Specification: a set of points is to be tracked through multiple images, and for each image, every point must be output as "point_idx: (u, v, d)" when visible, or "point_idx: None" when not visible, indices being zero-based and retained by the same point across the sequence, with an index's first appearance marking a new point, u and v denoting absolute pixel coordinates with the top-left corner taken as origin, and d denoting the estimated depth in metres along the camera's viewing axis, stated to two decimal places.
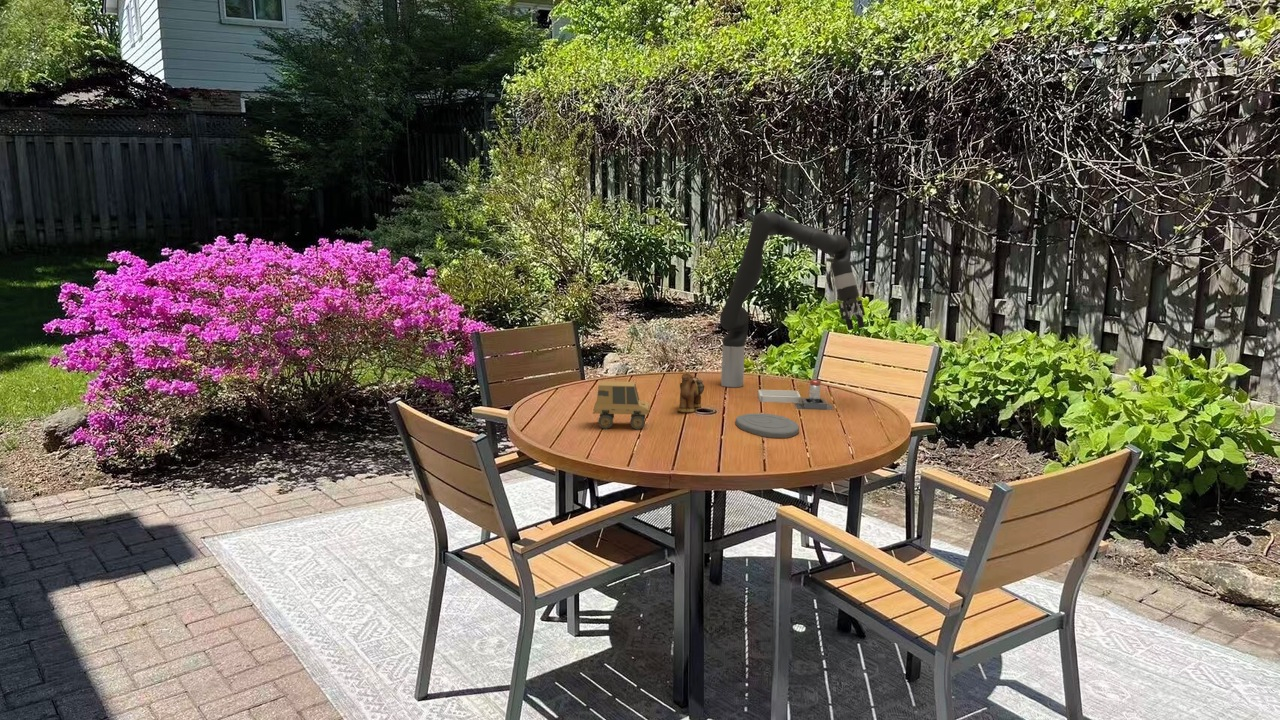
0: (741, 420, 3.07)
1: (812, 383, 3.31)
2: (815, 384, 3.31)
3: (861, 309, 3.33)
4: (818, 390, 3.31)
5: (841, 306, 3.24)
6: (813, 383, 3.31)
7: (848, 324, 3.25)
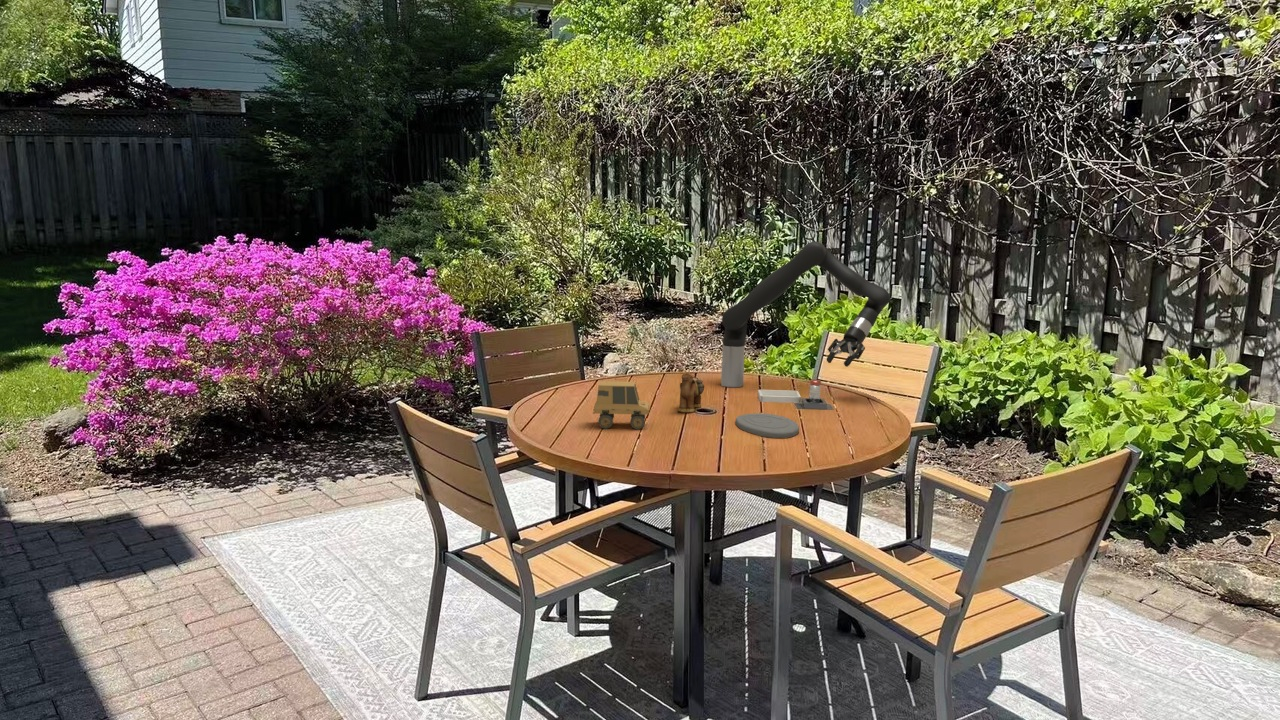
0: (741, 420, 3.07)
1: (812, 383, 3.31)
2: (815, 384, 3.31)
3: None
4: (818, 390, 3.31)
5: (862, 348, 3.35)
6: (813, 383, 3.31)
7: (850, 361, 3.35)
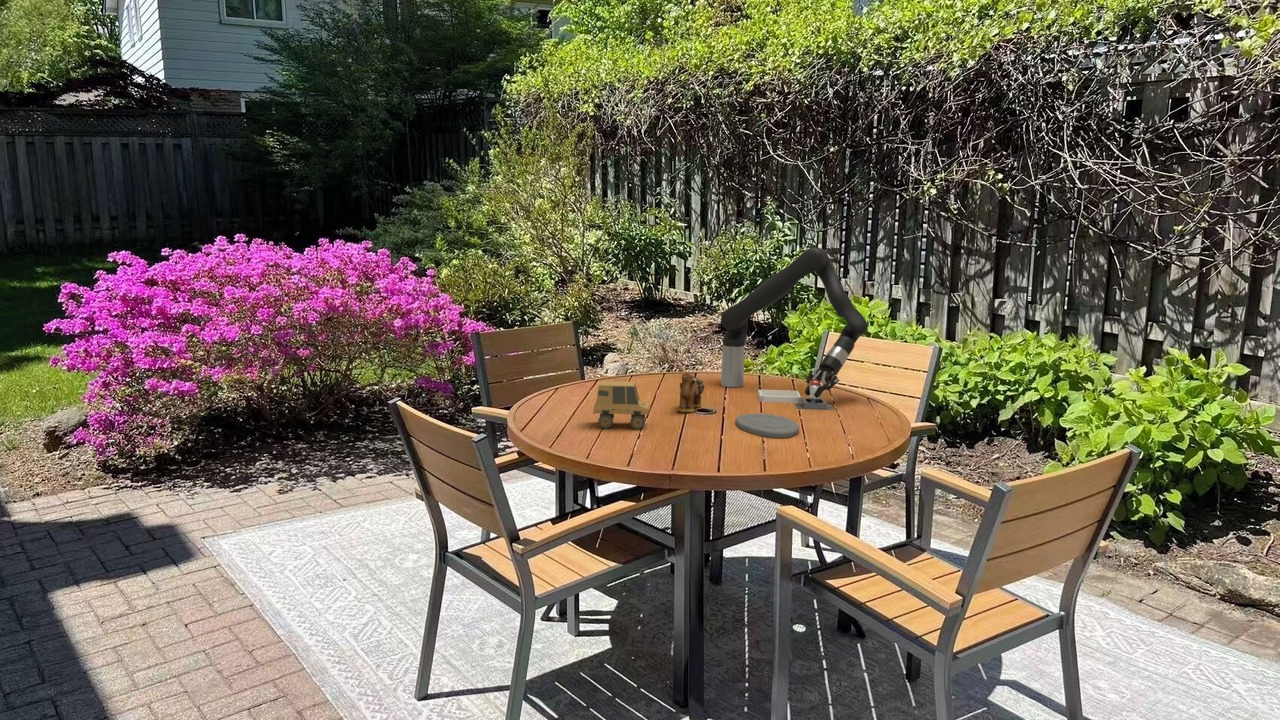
0: (741, 420, 3.07)
1: (812, 383, 3.31)
2: (815, 384, 3.31)
3: None
4: None
5: (835, 381, 3.30)
6: (813, 383, 3.31)
7: (820, 392, 3.30)
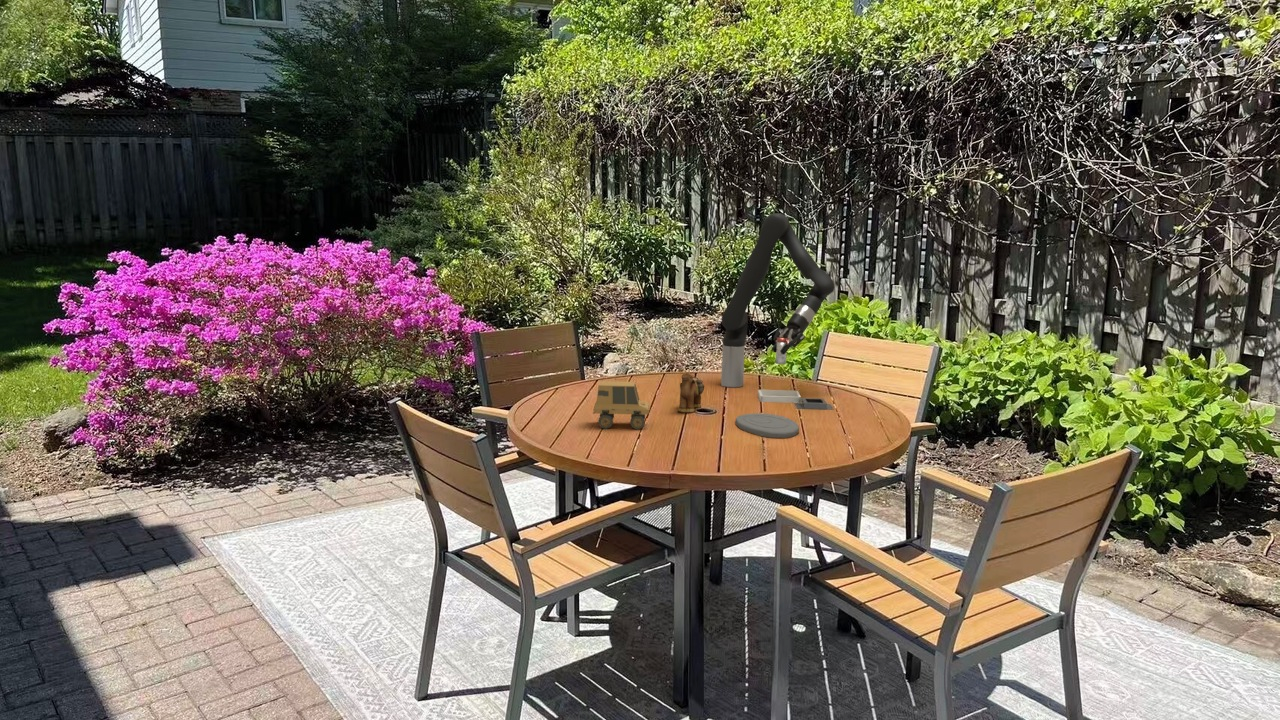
0: (741, 420, 3.07)
1: (779, 340, 3.40)
2: (781, 341, 3.39)
3: None
4: None
5: (801, 338, 3.38)
6: (780, 340, 3.39)
7: (786, 349, 3.39)
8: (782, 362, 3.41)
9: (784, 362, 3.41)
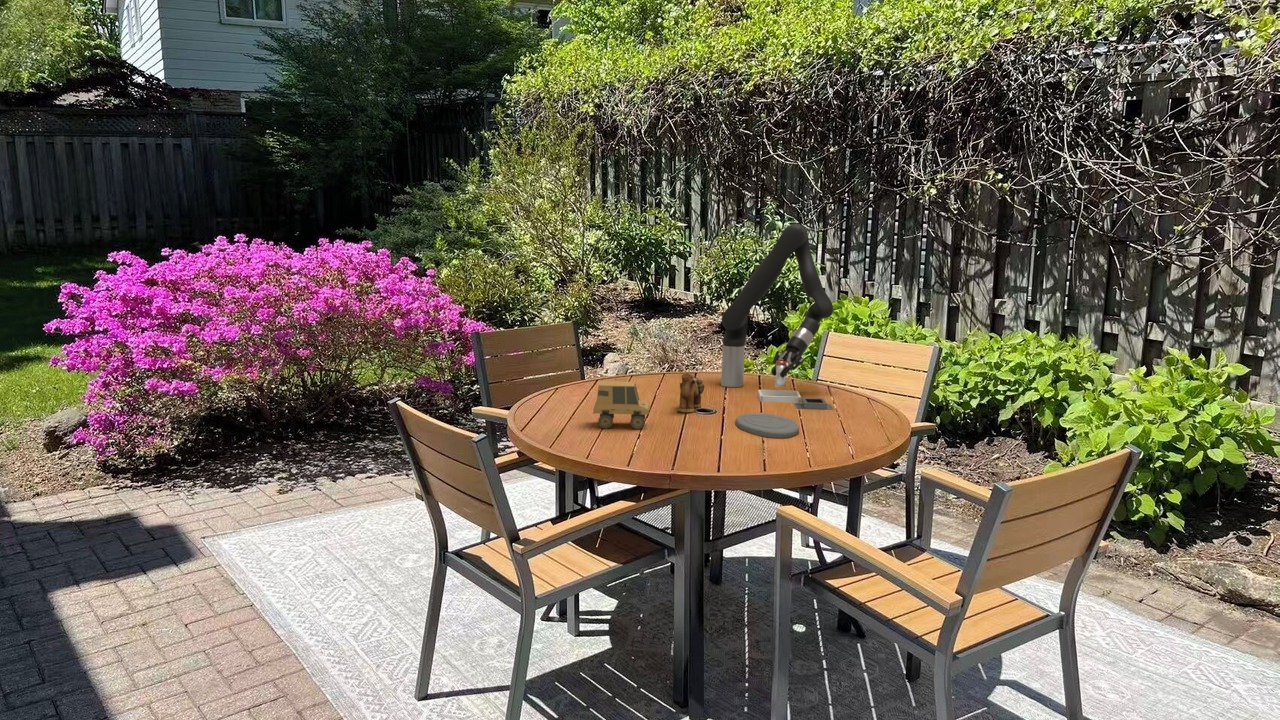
0: (741, 420, 3.07)
1: (778, 363, 3.42)
2: (781, 364, 3.41)
3: None
4: None
5: (800, 360, 3.40)
6: (779, 363, 3.41)
7: (786, 372, 3.41)
8: (782, 385, 3.43)
9: (784, 385, 3.43)
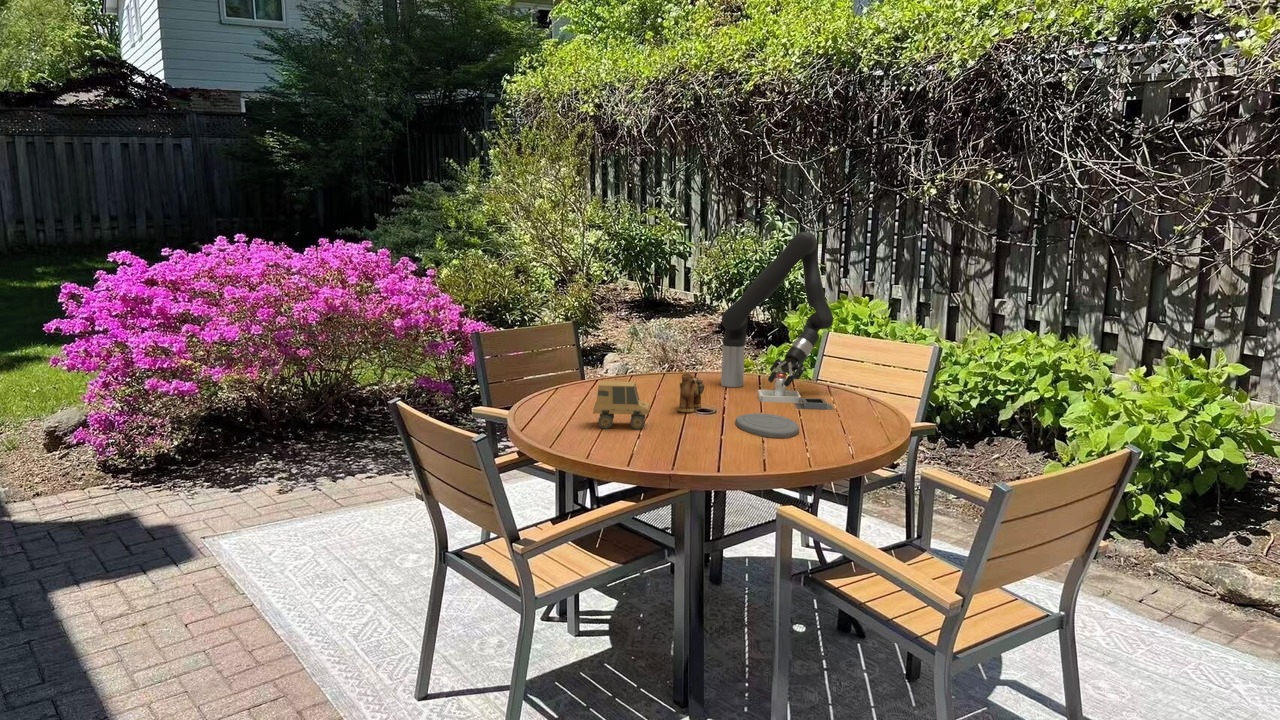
0: (741, 420, 3.07)
1: (778, 376, 3.42)
2: (780, 377, 3.42)
3: None
4: (783, 383, 3.43)
5: (802, 368, 3.41)
6: (778, 376, 3.42)
7: (790, 381, 3.40)
8: None
9: None
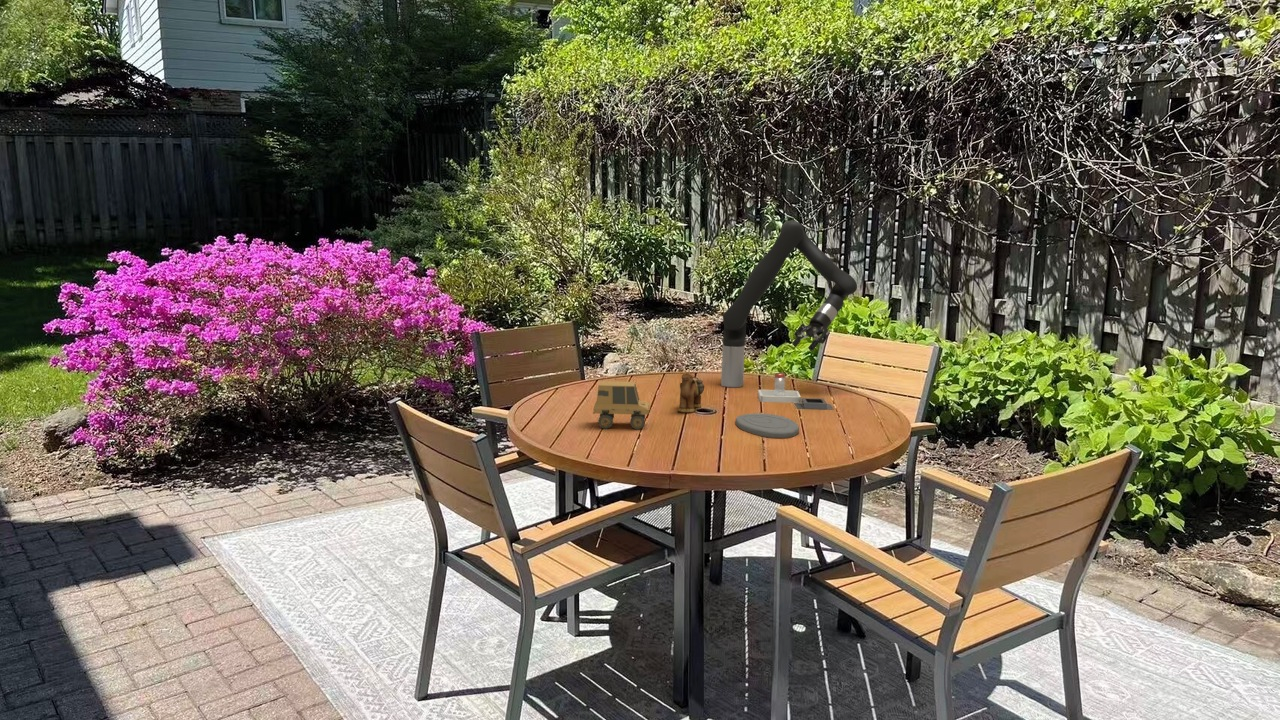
0: (741, 420, 3.07)
1: (776, 376, 3.43)
2: (779, 377, 3.42)
3: None
4: (783, 382, 3.43)
5: (827, 333, 3.46)
6: (777, 376, 3.43)
7: (814, 345, 3.46)
8: None
9: None
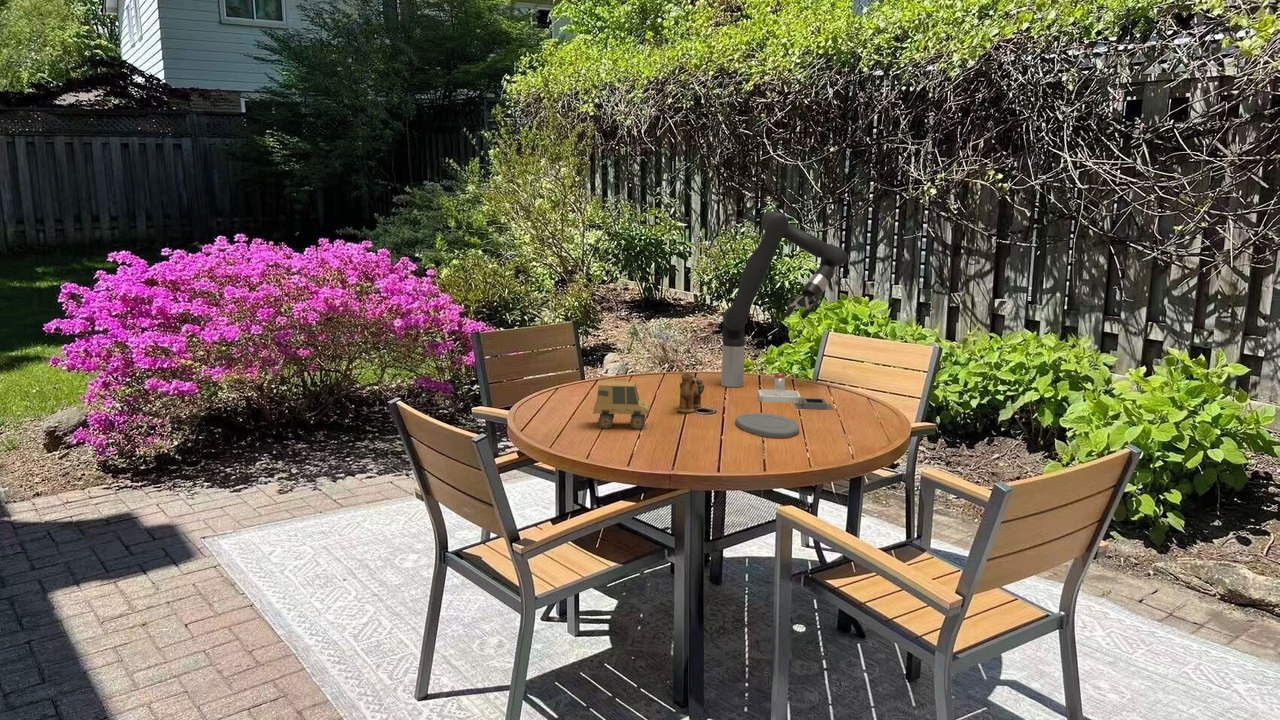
0: (741, 420, 3.07)
1: (776, 376, 3.43)
2: (779, 377, 3.42)
3: None
4: (782, 383, 3.43)
5: (818, 302, 3.57)
6: (777, 376, 3.42)
7: (806, 314, 3.56)
8: None
9: None
